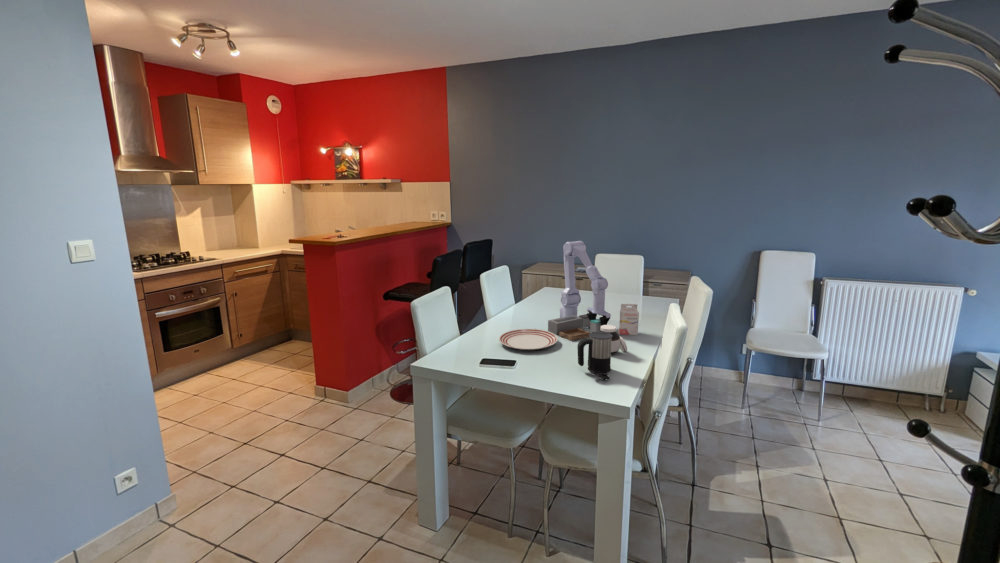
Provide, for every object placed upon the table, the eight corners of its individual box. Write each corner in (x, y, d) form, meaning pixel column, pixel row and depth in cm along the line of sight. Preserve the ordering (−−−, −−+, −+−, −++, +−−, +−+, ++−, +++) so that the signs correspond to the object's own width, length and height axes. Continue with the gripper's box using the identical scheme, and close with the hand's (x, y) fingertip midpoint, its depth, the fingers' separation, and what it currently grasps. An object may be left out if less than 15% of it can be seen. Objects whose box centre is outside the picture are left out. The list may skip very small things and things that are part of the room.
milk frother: (601, 364, 196) (602, 329, 193) (627, 377, 182) (629, 340, 179) (573, 370, 189) (573, 335, 186) (598, 384, 176) (599, 346, 173)
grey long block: (547, 331, 240) (547, 319, 238) (573, 326, 249) (573, 314, 247) (556, 335, 234) (557, 323, 232) (582, 329, 243) (582, 317, 241)
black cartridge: (578, 326, 248) (579, 315, 247) (588, 324, 252) (589, 313, 250) (584, 328, 245) (584, 317, 243) (594, 326, 248) (594, 315, 247)
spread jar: (592, 351, 211) (593, 326, 209) (608, 345, 218) (609, 321, 216) (615, 358, 202) (616, 332, 199) (630, 352, 209) (632, 327, 207)
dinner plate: (554, 356, 206) (554, 348, 205) (493, 352, 212) (493, 345, 211) (559, 336, 232) (559, 330, 232) (505, 333, 238) (505, 327, 237)
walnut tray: (559, 336, 232) (559, 331, 232) (577, 331, 239) (577, 327, 238) (571, 341, 225) (571, 336, 224) (590, 336, 231) (590, 332, 231)
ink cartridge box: (620, 334, 233) (621, 306, 230) (618, 331, 238) (620, 303, 235) (638, 335, 232) (639, 306, 229) (636, 332, 237) (637, 303, 234)
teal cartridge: (590, 331, 239) (590, 320, 238) (600, 329, 242) (600, 318, 241) (595, 333, 235) (596, 322, 234) (605, 331, 239) (606, 320, 238)
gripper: (582, 300, 240) (582, 326, 242) (603, 306, 228) (602, 333, 231) (593, 298, 244) (592, 324, 246) (614, 304, 232) (613, 330, 234)
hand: (598, 328), depth 239 cm, fingers open, 7 cm apart
